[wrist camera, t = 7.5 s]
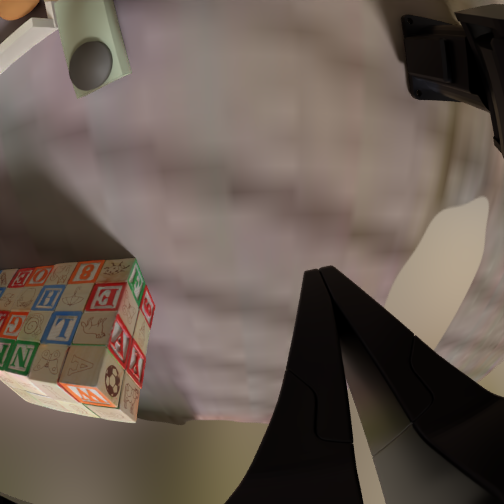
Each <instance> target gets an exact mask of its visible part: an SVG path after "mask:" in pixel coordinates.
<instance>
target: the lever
mask: <svg viewBox="0 0 504 504" xmlns="http://www.w3.org/2000/svg"><path fill="white" fill-rule="evenodd" d="M47 1H57V2H56V3H54V8H55V13H56V19H57V24H58V29H59V33H60V38H61V42H62V46H63V50H64V54H65V58H66V62H67V66H68V69H69V75H70V79H71V81H72V83H73V86H74V90H75V93H76V96H77V99H78V98H81V97H84V96H86V95H88V94H90V93H92V92H94V91H96V90H98V89H100V88H102V87H103V86H105V85H107V84H109V83H112V82H114V81H116V80H118V79H120V78H122V77H124V76H126V75H129V74H131V73H132V71H131V68H130V64H129V61H128V57H127V54H126V50H125V46H124V43H123V39H122V35H121V31H120V27H119V23H118V19H117V15H116V11H115V7H114V3H113V0H44V2H47Z"/></svg>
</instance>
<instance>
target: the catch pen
mask: <svg viewBox="0 0 504 504" xmlns="http://www.w3.org/2000/svg"><path fill="white" fill-rule="evenodd" d="M54 3H55V1H47V2H45V6H46V12H47V18H48V19H46V18H30V19H29V20H28V21H26V22H25V23H24V24H23V25H22V26H20V27H19V28H18V29H17V30H16V31H14V32H13V33H12V34H11V35H10V36H9V37H8V38H7V39H5V40H4V41H3V42H2V43H1V44H0V75H1V74H2V73H3V72H4V71H5V70H6V69H7V68H8V67H9V66H10V65H12V64H13V63H14V62H15V61H16V60H17V59H19V58H20V57H21V56H22V55H24V54H25V53H26V52H27V51H29V50H30V49H31V48H32V47H34V46H35V45H36V44H38V43H39V42H40V41H42V40H43V39H45V38H46V37H47V36H49V35H50V34H52V33H53V32H55V31H56V30H58V24H57V19H56V13H55V8H54Z"/></svg>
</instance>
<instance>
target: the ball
mask: <svg viewBox="0 0 504 504" xmlns="http://www.w3.org/2000/svg"><path fill="white" fill-rule="evenodd" d="M39 1H40V0H0V17H1V18H3V19H5V20H16V19H19V18H22V17H24V16H25V15H27V14H28V13H30V12H31V11H32V10H33V9H34V8H35V7H36V5H37V4H38V2H39Z"/></svg>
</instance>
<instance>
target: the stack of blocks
mask: <svg viewBox="0 0 504 504" xmlns="http://www.w3.org/2000/svg"><path fill="white" fill-rule="evenodd" d="M154 310H155V305H154V302H153V300H152V297H151V295H150V293H149V290H148V288H147V285H146V284H145V281H144V279H143V276H142V274H141V271H140V268H139V266H138V263H137V260H136V258H127V259H115V260H94V261H83V262H70V263H60V264H56V265H51V266H41V267H36V268H35V267H34V268H23V269H7V270H0V380H1V381H2V382H4V383H5V384H6V385H7V386H8V387H9V388H11V389H12V390H13V391H14V392H16V393H17V394H18V395H19V396H20V397H22V398H23V399H24V400H26V401H27V402H30V403H33V404H36V405H40V406H44V407H47V408H51V409H54V410H59V411H63V412H68V413H70V412H71V413H74V414H80V415H85V416H90V417H97V418H103V419H107V420H114V421H122V422H129V423H135V422H136V419H137V410H138V401H139V392H140V389H141V388H142V383H143V376H144V369H145V363H146V352H147V346H148V340H149V334H150V330H151V325H152V320H153V315H154Z"/></svg>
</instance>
